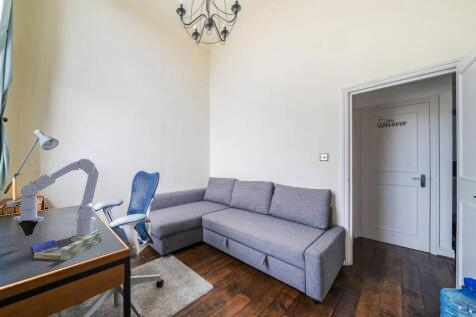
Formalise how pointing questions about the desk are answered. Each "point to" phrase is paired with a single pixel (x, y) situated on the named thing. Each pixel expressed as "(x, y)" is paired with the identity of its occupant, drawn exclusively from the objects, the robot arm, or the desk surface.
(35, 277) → the desk surface
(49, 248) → the hard drive
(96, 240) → the dock
